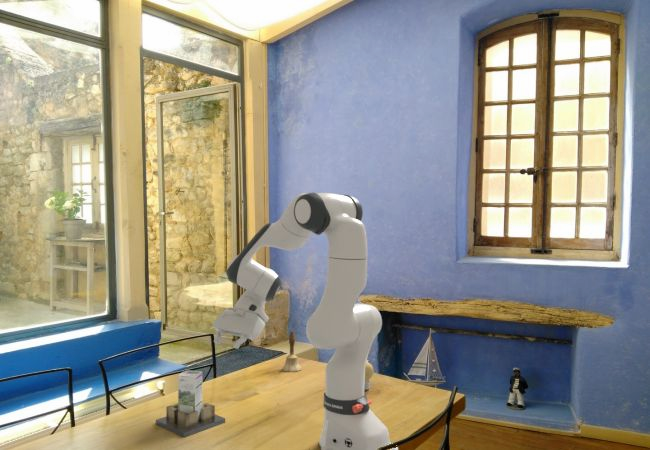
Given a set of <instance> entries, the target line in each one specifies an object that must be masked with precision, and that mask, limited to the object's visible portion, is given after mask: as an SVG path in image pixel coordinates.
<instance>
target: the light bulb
mask: <svg viewBox="0 0 650 450" xmlns="http://www.w3.org/2000/svg"><path fill="white" fill-rule="evenodd" d="M374 373H375V372H374V367H373V364H371V362H368V361H366V367H365V385H364V391H368V390H370V389H371V382H370V381H371V380H370V379H371V378H372V377H373V375H374Z"/></svg>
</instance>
